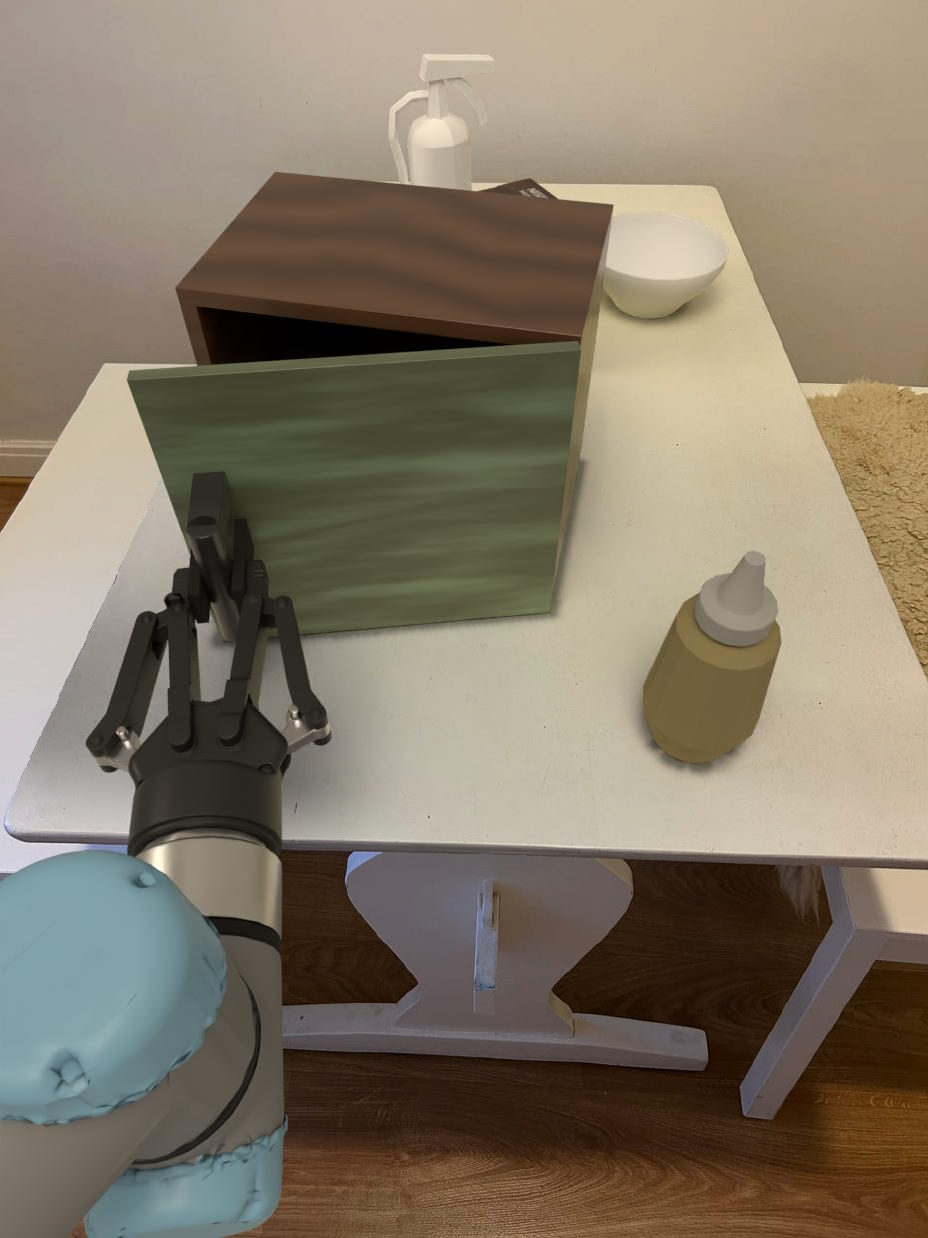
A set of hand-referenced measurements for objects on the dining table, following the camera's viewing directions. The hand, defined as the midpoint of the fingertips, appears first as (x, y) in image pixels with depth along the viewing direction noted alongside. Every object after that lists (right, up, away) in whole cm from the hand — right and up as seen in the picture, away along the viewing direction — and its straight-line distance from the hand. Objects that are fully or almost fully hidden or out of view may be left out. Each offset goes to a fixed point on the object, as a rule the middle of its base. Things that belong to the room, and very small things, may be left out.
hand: (224, 535), depth 57 cm
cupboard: (+12, +5, +20) cm, 24 cm away
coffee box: (+22, +24, +36) cm, 49 cm away
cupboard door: (+11, -8, +9) cm, 16 cm away
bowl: (+38, +32, +42) cm, 65 cm away
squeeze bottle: (+33, -14, +4) cm, 36 cm away
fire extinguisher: (+13, +32, +42) cm, 55 cm away
